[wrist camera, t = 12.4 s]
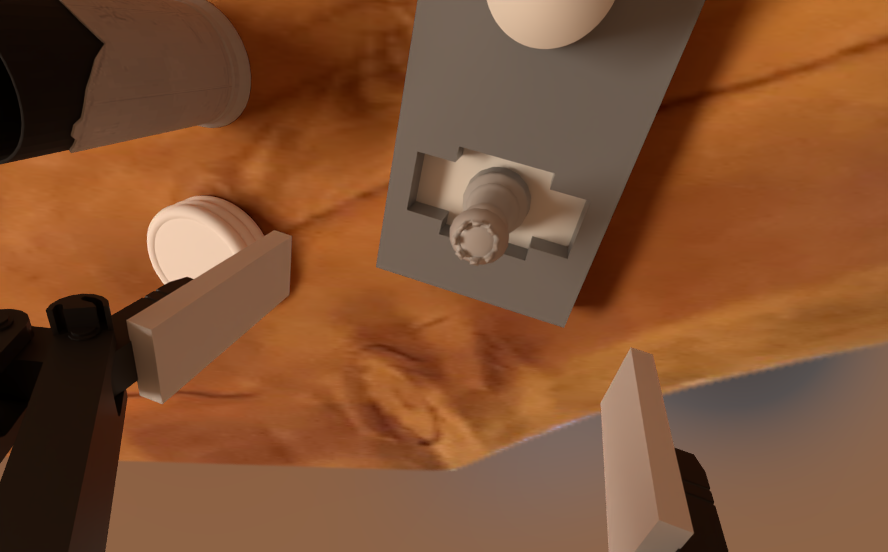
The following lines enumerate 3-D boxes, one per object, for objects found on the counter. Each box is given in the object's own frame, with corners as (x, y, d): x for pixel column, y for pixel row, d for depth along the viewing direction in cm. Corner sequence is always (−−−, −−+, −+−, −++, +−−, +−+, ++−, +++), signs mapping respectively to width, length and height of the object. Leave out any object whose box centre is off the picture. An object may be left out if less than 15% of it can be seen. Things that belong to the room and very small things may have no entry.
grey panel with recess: (756, -150, 21) (845, -244, 14) (564, 305, 34) (562, 373, 27) (468, -203, 23) (421, -311, 16) (390, 250, 35) (346, 300, 29)
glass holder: (223, 151, 35) (20, 214, 22) (69, 21, 34) (-248, 8, 21) (270, 55, 31) (52, 64, 18) (95, -100, 29) (-283, -213, 16)
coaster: (174, 176, 38) (139, 187, 35) (281, 219, 37) (255, 235, 34) (176, 273, 43) (145, 291, 40) (270, 313, 42) (246, 334, 39)
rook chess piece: (459, 218, 32) (426, 267, 25) (474, 156, 29) (443, 191, 23) (520, 237, 31) (504, 292, 24) (540, 176, 29) (530, 217, 22)
